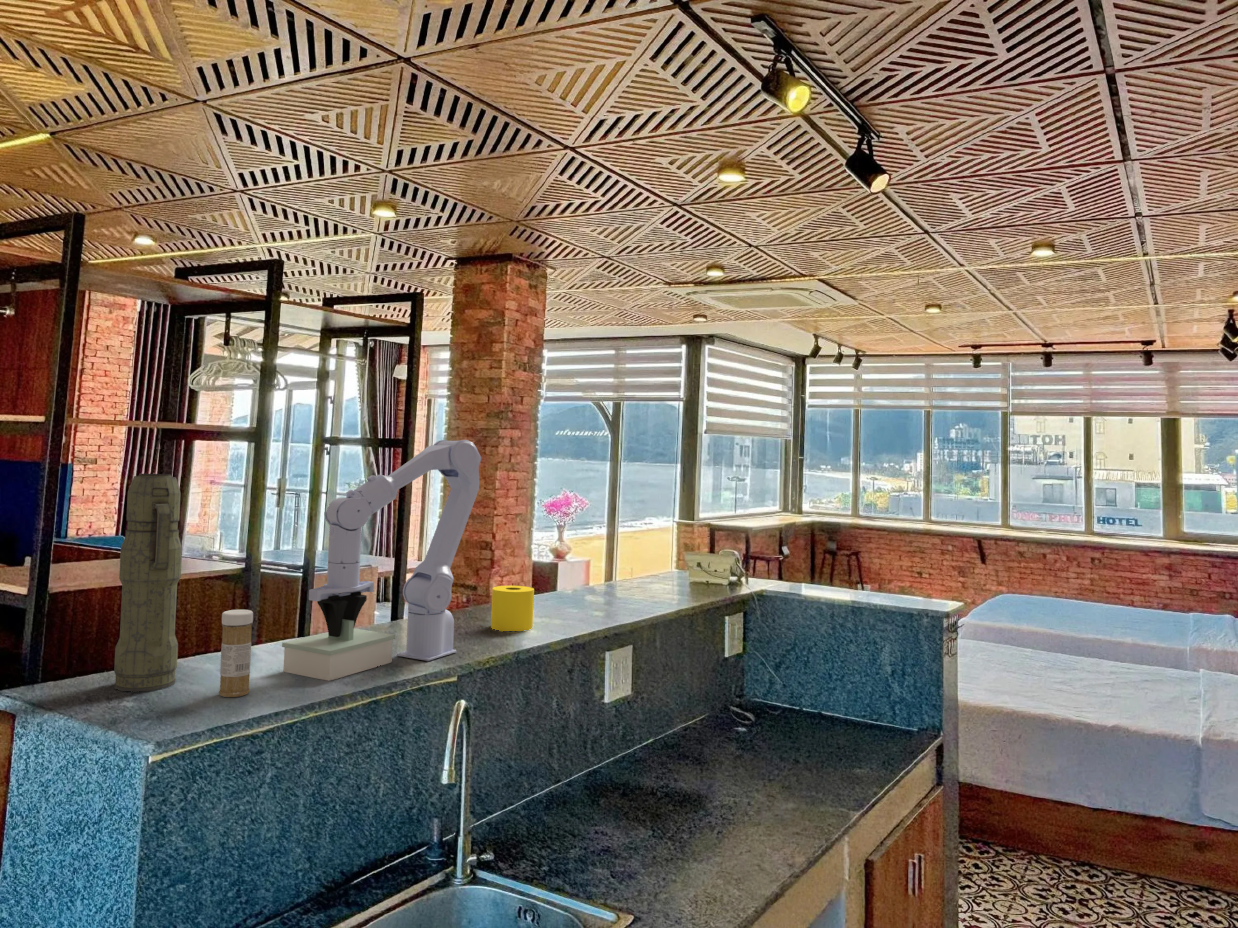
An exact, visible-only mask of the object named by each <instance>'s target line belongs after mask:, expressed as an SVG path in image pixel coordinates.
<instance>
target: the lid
mask: <svg viewBox="0 0 1238 928" xmlns="http://www.w3.org/2000/svg"><path fill="white" fill-rule="evenodd" d="M395 639H396V634H391V633H385V632H380V631H373V630H367V629H361V628H355V626H354V621H352V620H345V619H342V627H341V634H340V637H333V636H329V633H328V631H327V632H323V633H319V634H315V635H310V636H306V637H300V638H298V639H291V640H287V641H283V642H282V643H281V647H282V648H284V649H285V648H291V649H296V650H302V651H307V652H313V653H319V654H324V655H330V656H331V655H335V654H339V653H343V652H346V651H350V650H354V649H358V648H362V647H366V646H370V645H374V644H377V643H381V642H385V641H389V640H395Z"/></svg>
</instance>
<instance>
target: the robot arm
mask: <svg viewBox="0 0 1238 928" xmlns="http://www.w3.org/2000/svg"><path fill="white" fill-rule="evenodd" d="M481 461H482V456H481V454H480V452H479V450H478V448H477V446H476V445H475V443H474V442H472V441H470V440H468V439H460V440H447V439H441V440H438V441H436V442H435V443H434V444H431V445H428V446H426V447H425V448H424V449H423V450H422V451H420V453H417V455H415V456H414V457H412V458H411V459H409V460H408V461H406V463H404V464H403V465H401V466H400V467H398V468H397V469H395V470H394V471H393V472H391V473H390V474H389V475H383V474H377V475H368V477H367V478H366V480H367V481H366V482H365V483H363V484H361V485H360V486H358V487H357V488H356V489H354V490H353V489H349V490H348V491H346V497H338V498H334V499H333V500H332V501H331V502H330V503H329V504H328V506H327V507H326V508H327V509H326V511H324V518H325V519H324V520H325V521H326V522H327V524H328V525H329V534H328V535H329V536H328V550H327V551H328V552H327V572H326V573H327V574H326V575H327V576H326V583H324V584H323V586H319V587H315V588H311V589H309V590H308V600H309V601H313V602H317V604H318V606H319V608H320V610H321V612H322V614H323V616H324V620H325V623H326V628H327V632H328V633H329V636H333V637H340V634H341V627H342V619H345V620H352V621H354V627H355V626H356V623H357V620H358V617H359V614H360V612H361V610H362V608H363V606H364V605H365V603H366V602H367V599H368V598H367V597H368V596H367V594H363V593H372V592H373V593H374V591H375V582H374V581H372V580H371V581H369V580H363V581H362V580H361V581H360V576H361V575H360V572H361V549H362V546H361V544H362V527H364V526H365V525H366V524H367V521H368V518H369V517H371V516H372V515H373V514H375V513H376V512H378V511H380V510H381V509H383V508H384V507H385V506H387V505H389V504H390V503H392V502H393V501H394V500H396V499H397V496H398V491H399V490H400V489H401V488H403V487H405V486H407V485H409V484H410V483H412V482H414V481H415V480H416V479H418V478H420V477H421V476H423V475H425V474H427V473H428V472H430V471H433V470H434V471H436V470H437V471H438V472H439V473H440V474H441V475H442V476H443V477H444V478H445V479H446V481H447V483H448V485H449V487H450V491H449V492H448V493H449V494H448V496H447V499H446V502H445V505H444V507H443V509H442V512H441V515H440V517H439V520H438V523H437V525H436V529H435V531H434V533H433V536H432V538H431V540H430V541H431V542H430V544H429V547H428V550H427V553H426V555H425V557H424V559H423V560H422V562H421V563H420V564H418V565H417V566H416V567H415V568H414V570H413V573H412V575H411V576H410V577H409V578H408V579H407V581H406V582H405V583H404V584H403V587H402V588H403V589H402V595H403V599H404V600H405V602H406V603H407V625H406V626H407V627H406V628H407V629H406V648H405V649H406V650H404V651H401V652H397V653H396V656H397V657H402V658H409V659H413V660H421V661H426V662H429V661H433V660H435V659H438V658H442V657H446V656H448V655H451V654H454V653H457V649H454V636H455V635H454V633H455V619H454V616H453V614H452V613H451V611H449V610H448V609H446V608H447V607H448V606H450V604H451V601H452V598H453V595H452V594H453V592H452V591H453V590H452V587H453V582H454V579H455V578H454V575H453V573H452V571H451V567H452V564H453V562H454V559H455V557H456V553H457V551H458V548H459V544H460V542H461V540H462V536H463V534H464V532H465V529H466V526H467V523H468V520H469V518H470V516H471V512H472V509H473V507H474V503H475V501H476V498H477V496H478V493H479V490H480V470H479V469H480V468H479V467H480V464H481Z"/></svg>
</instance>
